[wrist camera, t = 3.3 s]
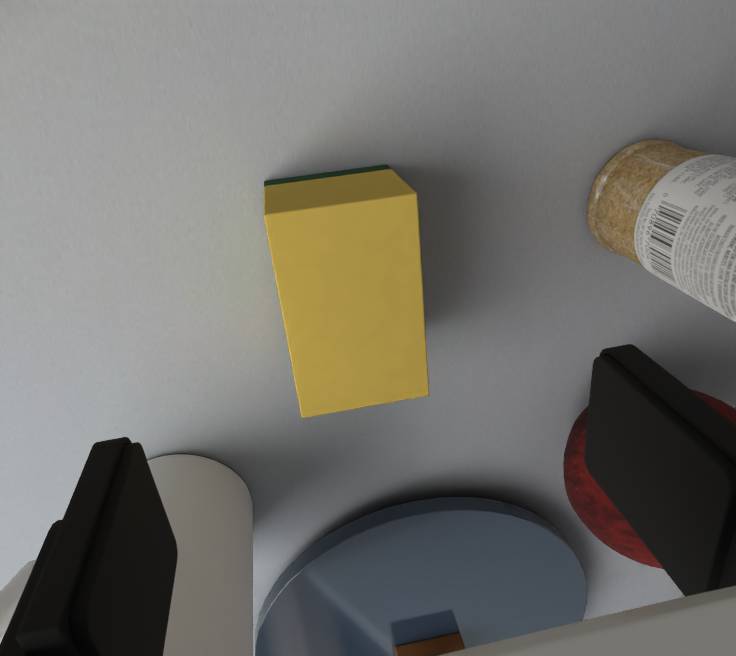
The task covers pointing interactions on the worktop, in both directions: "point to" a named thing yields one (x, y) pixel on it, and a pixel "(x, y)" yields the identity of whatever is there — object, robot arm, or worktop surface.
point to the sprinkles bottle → (672, 217)
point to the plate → (424, 581)
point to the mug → (196, 559)
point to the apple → (595, 502)
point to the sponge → (349, 286)
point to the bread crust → (432, 646)
